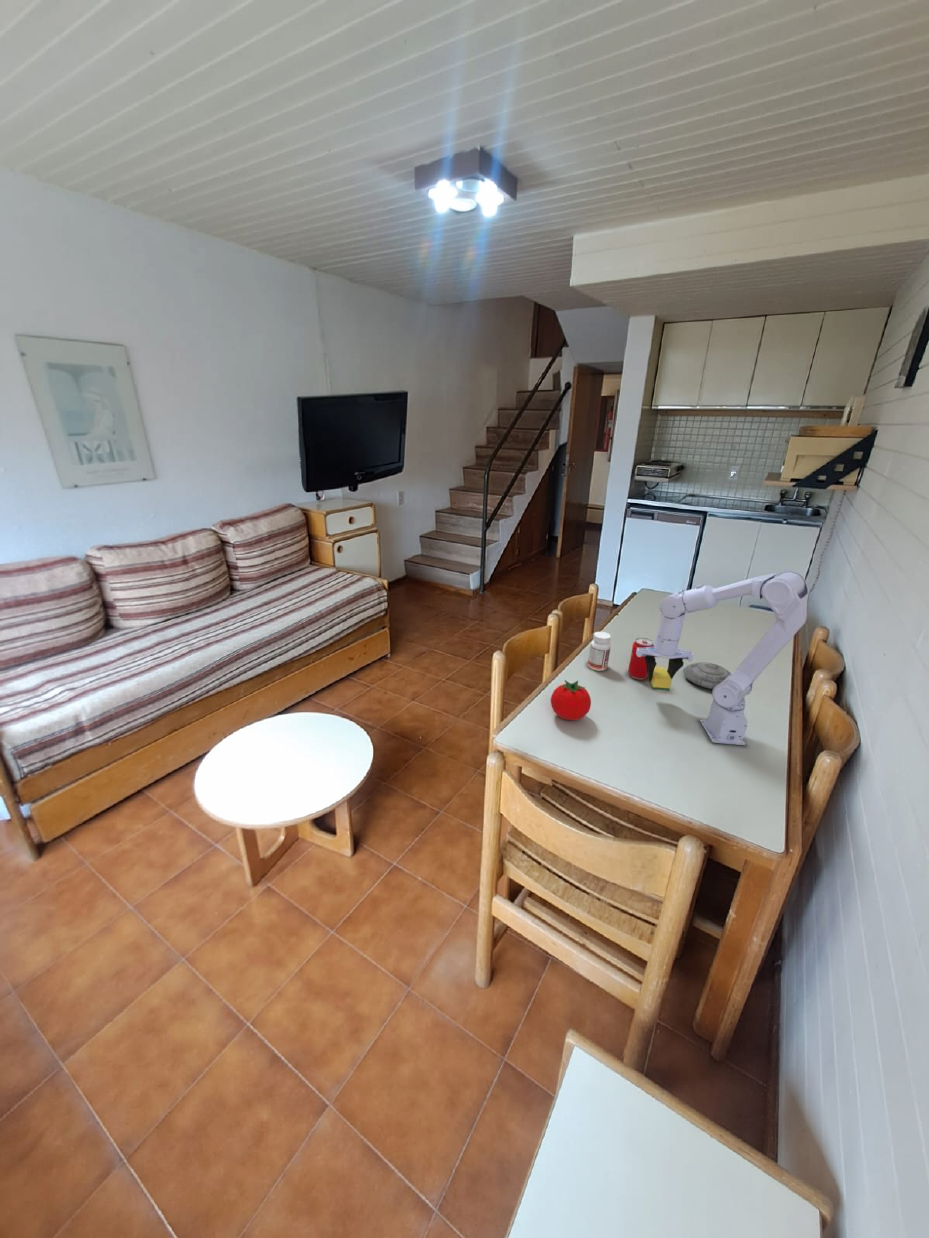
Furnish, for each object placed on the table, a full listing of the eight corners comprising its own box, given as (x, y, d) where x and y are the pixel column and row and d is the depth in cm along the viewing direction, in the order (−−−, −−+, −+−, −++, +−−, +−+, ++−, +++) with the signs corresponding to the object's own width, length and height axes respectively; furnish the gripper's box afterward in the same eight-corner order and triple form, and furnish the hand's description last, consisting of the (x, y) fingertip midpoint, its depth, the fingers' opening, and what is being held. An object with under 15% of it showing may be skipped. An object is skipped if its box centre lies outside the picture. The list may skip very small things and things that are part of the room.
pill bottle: (601, 661, 162) (606, 630, 157) (610, 670, 156) (616, 638, 152) (584, 662, 160) (588, 631, 156) (592, 672, 155) (597, 639, 150)
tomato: (594, 726, 128) (600, 693, 124) (555, 729, 126) (560, 695, 122) (580, 704, 137) (585, 673, 133) (544, 706, 136) (547, 675, 132)
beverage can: (645, 671, 156) (652, 637, 151) (650, 681, 150) (657, 646, 146) (625, 670, 157) (632, 636, 152) (629, 679, 151) (636, 644, 146)
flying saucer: (673, 678, 153) (676, 662, 151) (696, 664, 162) (700, 649, 160) (721, 699, 142) (725, 682, 140) (743, 683, 151) (748, 667, 149)
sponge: (669, 690, 134) (671, 679, 133) (652, 689, 135) (655, 678, 133) (662, 678, 141) (664, 667, 139) (646, 676, 141) (648, 666, 140)
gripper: (691, 632, 135) (680, 675, 140) (637, 628, 136) (629, 671, 141) (700, 643, 128) (688, 688, 134) (643, 639, 130) (634, 683, 135)
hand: (658, 680), depth 137 cm, fingers closed on sponge, 4 cm apart
